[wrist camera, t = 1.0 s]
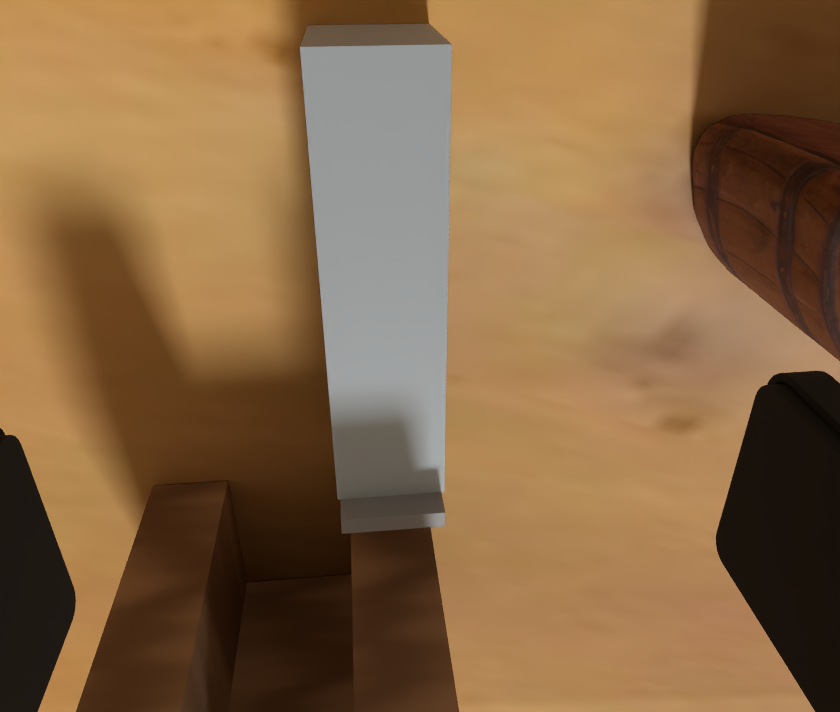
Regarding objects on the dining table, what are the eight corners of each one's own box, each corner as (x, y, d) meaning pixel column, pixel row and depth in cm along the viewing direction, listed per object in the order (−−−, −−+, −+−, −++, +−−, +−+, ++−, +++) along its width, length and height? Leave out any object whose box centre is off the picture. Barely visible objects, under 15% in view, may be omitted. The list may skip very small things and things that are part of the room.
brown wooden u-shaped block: (420, 468, 30) (459, 712, 20) (421, 598, 34) (453, 853, 24) (153, 485, 29) (62, 751, 19) (186, 617, 33) (125, 890, 23)
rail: (429, 23, 21) (457, 49, 16) (428, 420, 29) (447, 525, 23) (307, 25, 21) (297, 52, 16) (338, 425, 28) (339, 534, 23)
